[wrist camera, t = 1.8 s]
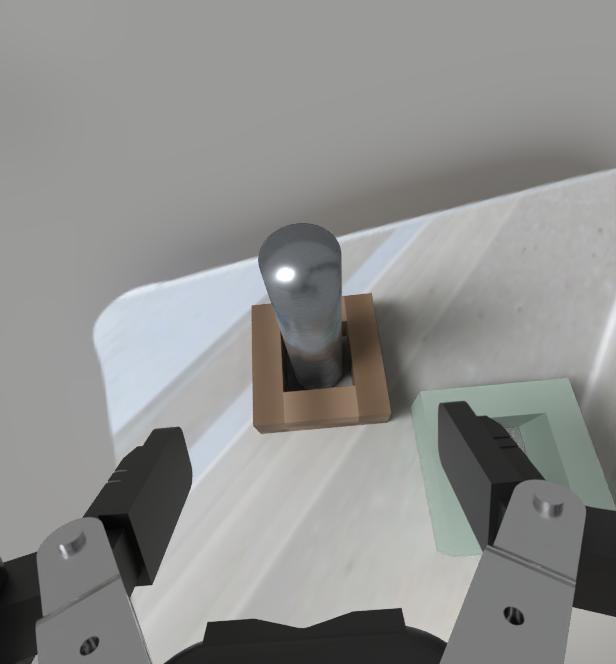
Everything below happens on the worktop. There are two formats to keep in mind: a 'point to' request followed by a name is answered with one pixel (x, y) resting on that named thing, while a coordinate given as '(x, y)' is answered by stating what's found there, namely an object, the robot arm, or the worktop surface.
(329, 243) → the ball
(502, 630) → the robot arm
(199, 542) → the worktop surface
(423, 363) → the worktop surface
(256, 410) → the walnut socket
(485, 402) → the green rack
